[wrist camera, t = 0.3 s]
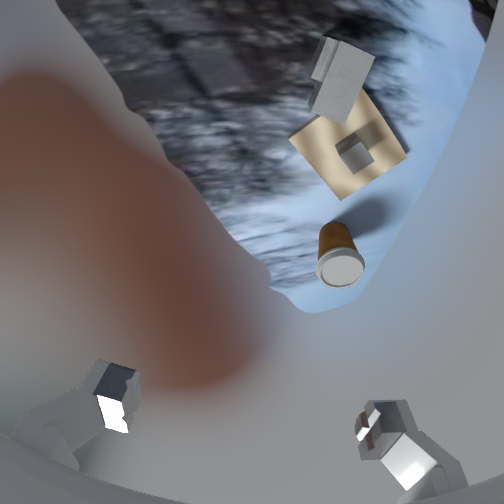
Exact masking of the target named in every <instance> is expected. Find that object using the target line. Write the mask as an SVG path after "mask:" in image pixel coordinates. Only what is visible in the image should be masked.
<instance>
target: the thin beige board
mask: <svg viewBox="0 0 504 504" xmlns="http://www.w3.org/2000/svg"><path fill="white" fill-rule="evenodd" d="M288 139H289V141H290V142H291V143H292V144H293V145H294V146H295V147H296V149H297V150H298V151H299V152H300V153H301V154H302V155H303V157H304V158H305V159H306V160H307V161H308V162H309V164H310V165H311V166H312V167H313V168H314V169H315V171H316V172H317V173H318V174H319V175H320V177H321V178H322V179H323V180H324V181H325V183H326V184H327V185H328V186H329V187H330V189H331V190H332V191H333V192H334V194H335V195H336V196H337V197H338V199H339V200H340V201H341V200H342V199H344V198H346V197H347V196H349V195H350V194H352V193H353V192H355V191H356V190H358V189H360V188H361V187H363V186H364V185H366V184H367V183H369V182H370V181H372V180H374V179H375V178H377V177H378V176H380V175H381V174H383V173H384V172H386V171H388V170H389V169H391V168H392V167H394V166H395V165H397V164H398V163H400V162H402V161H403V160H405V159H406V158H408V157H407V155H406V154H405V152H404V150H403V149H402V147H401V145H400V144H399V142H398V140H397V139H396V137H395V135H394V134H393V132H392V131H391V129H390V128H389V126H388V125H387V123H386V121H385V120H384V118H383V117H382V115H381V114H380V112H379V111H378V110H377V108H376V107H375V105H374V104H373V102H372V101H371V99H370V98H369V97H368V95H367V94H366V92H365V91H364V90H363V88H361V90H360V92H359V94H358V96H357V99H356V101H355V103H354V105H353V107H352V109H351V112H350V114H349V116H348V118H347V120H346V122H345V124H344V125H343V124H340V123H338V122H336V121H333V120H331V119H328V118H326V117H323V116H321V115H317V116H316V117H315V118H313V119H312V120H311V121H309V122H308V123H306V124H305V125H304V126H302V127H301V128H300V129H298V130H297V131H296V132H294V133H293V134H291V135H290V136H289V137H288Z"/></svg>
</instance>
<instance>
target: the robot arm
mask: <svg viewBox="0 0 504 504" xmlns="http://www.w3.org/2000/svg"><path fill="white" fill-rule="evenodd" d="M139 378H140V377H139V371H138V370H135V369H131V368H128V367H124V366H121V365H118V364H114V363H111V362H108V361H105V360H101V359H98V360H97V361H95V363H94V365H93V366H92V368H91V370H90V371H89V373H88V375H87V376H86V378H85V380H84V381H83V383H82V385H81V386H80V388H79V389H76V388H75V389H73V390H71V391H69V392H67V393H64V394H62V395H60V396H58V397H56V398H54V399H52V400H50V401H48V402H46V403H44V404H42V405H39V406H37V407H35V408H33V409H31V410H29V411H26V412H25V413H24V415H23V416H22V418H21V420H20V421H19V423H18V424H17V426H16V428H15V429H14V431H13V433H12V434H11V436H10V437H8V436H6V435H5V434H3V433H1V432H0V504H189V503H184V502H180V501H174V500H170V499H165V498H161V497H157V496H153V495H149V494H145V493H142V492H138V491H134V490H131V489H128V488H125V487H121V486H118V485H115V484H112V483H109V482H106V481H103V480H100V479H98V478H95V477H92V476H90V475H87V474H84V473H82V472H79V471H78V469H79V464H78V463H77V461H76V459H75V458H74V456H73V454H72V452H73V451H74V450H76V449H77V448H78V447H80V446H81V445H83V444H84V443H86V442H87V441H88V440H90V439H91V438H93V437H94V436H95V435H97V434H98V433H99V432H101V431H102V430H104V429H105V428H106V427H108V428H112V429H115V430H118V431H122V432H126V433H128V431H129V429H130V426H131V424H132V421H133V415H132V412H134V411H136V410H137V408H138V405H139V402H140V397H141V386H140V385H139V383H138V380H139ZM364 408H365V411H364V412H362V413H361V414H359V416H358V418H357V419H356V424H355V434H356V437H357V438H358V439H359V440H360V441H361V442H360V444H359V446H358V448H359V452H360V457H361V460H376V459H381V461H382V462H383V464H384V465H385V466H386V467H387V468H388V469H389V471H390V472H391V473H392V474H393V475H394V477H395V478H396V479H397V480H398V481H399V482H400V484H401V485H402V486H403V487H404V488H405V489H406V492H405V493H404V494H402V495H401V496H400V497H399V498H398V499H397V504H504V473H503V474H501V475H498V476H496V477H493V478H491V479H488V480H485V481H483V482H480V483H477V484H474V485H471V486H469V485H468V483H467V480H466V477H465V474H464V472H463V469H462V467H461V464H460V462H459V461H458V460H456V459H455V458H454V457H453V456H451V455H450V454H449V453H448V452H447V451H445V450H444V449H443V448H442V447H440V446H439V445H438V444H437V443H436V442H434V441H433V440H432V439H431V438H430V437H428V436H427V435H426V434H425V433H423V432H422V431H418V428H417V426H416V423H415V421H414V418H413V415H412V413H411V410H410V408H409V405H408V403H407V401H406V400H370V401H368V402H367V403H366V405H365V406H364Z"/></svg>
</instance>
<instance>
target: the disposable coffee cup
mask: <svg viewBox="0 0 504 504" xmlns="http://www.w3.org/2000/svg"><path fill="white" fill-rule="evenodd" d="M364 268H365V263H364V260H363V258H362V256H361V255H360V254H359V253H358V251H357V249H356V247H355V244H354V242H353V240H352V238H351V236H350V234H349V232H348V230H347V228H346V226H344V225H343V224H341V223H338V222H332V223H329V224H326V225H325V226H324V227H323V228H322V229H321V231H320V234H319V251H318V262H317V264H316V275H317V277H318V278H319V279H320V280H321V282H322V283H323V284H324V285H325V286H327V287H330V288H334V289H342V288H347V287H350V286H352V285H354V284H355V283H357V282H358V281H359V280H360V278H361V277H362V275H363V271H364Z"/></svg>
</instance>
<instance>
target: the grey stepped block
mask: <svg viewBox="0 0 504 504" xmlns="http://www.w3.org/2000/svg"><path fill="white" fill-rule="evenodd" d="M374 59H375V56H373V55H371V54H369V53H367V52H364V51H362V50H360V49H358V48H356V47H354V46H352V45H349V44H347V43H345V42H343V41H340V40H334V39H332V38H329V37H324V36H321V39H320V41H319V44H318V46H317V49H316V51H315V54H314V56H313V58H312V61H311V63H310V66H309V68H308V71H307V73H308V74H309V75H310V77H311V78H313V79H316V80H317V82H316V85H315V87H314V90H313V92H312V94H311V97H310V99H309V102H308V105H309V108H310V111H311V112H313V113H316V114H318V115H321V116H323V117H326V118H328V119H331V120H333V121H336V122H338V123H340V124H343V125H344V124H345V122H346V120H347V118H348V116H349V114H350V112H351V109H352V107H353V105H354V103H355V101H356V99H357V96H358V94H359V92H360V90H361V88H362V86H363V83H364V81H365V79H366V77H367V74H368V72H369V70H370V68H371V66H372V63H373V61H374Z"/></svg>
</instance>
